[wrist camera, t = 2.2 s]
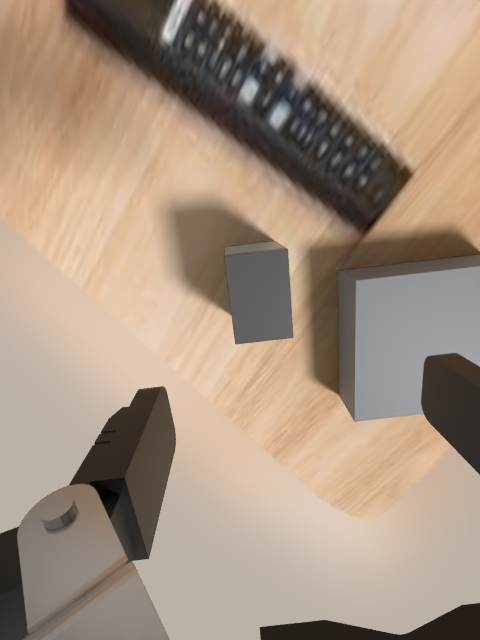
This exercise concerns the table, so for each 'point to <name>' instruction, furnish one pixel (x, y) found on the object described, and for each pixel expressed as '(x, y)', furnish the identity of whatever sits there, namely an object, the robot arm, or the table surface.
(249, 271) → the block
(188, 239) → the table surface
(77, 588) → the robot arm
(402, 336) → the stand
